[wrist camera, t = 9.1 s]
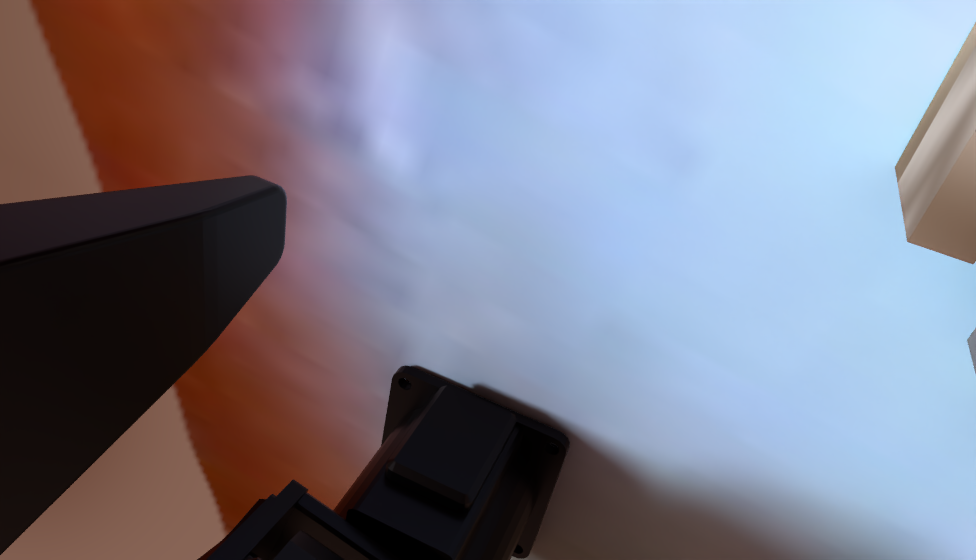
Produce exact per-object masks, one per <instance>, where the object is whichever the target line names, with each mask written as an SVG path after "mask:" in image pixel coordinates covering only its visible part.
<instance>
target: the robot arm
mask: <svg viewBox="0 0 976 560" xmlns="http://www.w3.org/2000/svg"><path fill="white" fill-rule="evenodd" d="M286 207H287V197H286V193H285V191H284V189H283V188H282V187H281V186H279V185H277V184H275V183H272V182H270V181H267V180H265V179H262V178H260V177H257V176H252V175H251V176H241V177H232V178H223V179H215V180H206V181H197V182H189V183H180V184H172V185H163V186H154V187H146V188H137V189H128V190H120V191H111V192H102V193H94V194H85V195H77V196H68V197H59V198H50V199H42V200H33V201H24V202H16V203H7V204H0V555H1V554H2V553H3V552H4V551H5V550H6V549H7V548H8V547H9V546H10V545H11V544H12V543H13V542H14V541H15V540H16V539H17V538H18V537H19V536H20V535H21V534H22V533H23V532H24V531H25V530H26V529H27V528H28V527H29V526H30V525H31V524H32V523H33V522H34V521H35V520H36V519H37V518H38V517H39V516H40V515H41V514H42V513H43V512H44V511H45V510H47V508H48V507H49V506H50V505H52V504H53V502H55V501H56V500H57V499H58V498H59V497H60V496H61V495H62V494H63V493H64V492H65V491H66V490H67V489H68V488H69V487H70V486H71V485H72V484H73V483H74V482H75V481H76V480H77V479H78V478H79V477H80V476H81V475H82V474H83V473H84V472H85V471H86V470H87V469H88V468H89V467H90V466H91V465H92V464H93V463H94V462H95V461H96V460H97V459H98V458H99V457H100V456H101V455H102V454H103V453H104V452H105V451H106V450H107V449H108V448H109V447H110V446H111V445H112V444H113V443H114V442H115V441H116V440H117V439H118V438H119V437H120V436H121V435H122V434H123V433H124V432H125V431H126V430H127V429H128V428H130V427H131V426H132V424H134V423H135V422H136V421H137V420H138V418H140V417H141V416H142V415H143V414H144V413H145V412H146V411H147V410H148V409H149V408H150V407H151V406H152V405H153V404H154V403H155V402H156V401H157V400H158V399H159V398H160V397H161V396H162V395H163V394H164V393H165V392H166V391H167V390H168V389H169V388H170V387H171V386H172V385H173V384H174V383H175V382H176V381H177V380H178V379H179V378H180V377H181V376H182V375H183V374H184V373H185V372H186V371H187V370H188V369H189V368H190V367H191V366H192V365H193V364H194V363H195V362H196V361H197V360H198V359H199V358H200V357H201V356H202V355H203V354H204V353H205V352H206V351H207V349H208V348H209V347H210V346H211V345H212V344H213V343H214V341H215V340H216V339H217V338H218V337H219V336H220V334H221V333H222V332H223V331H224V329H225V328H226V327H227V326H228V324H229V323H230V322H231V321H232V319H233V318H234V317H235V316H236V315H237V313H238V312H239V311H240V310H241V308H242V307H243V306H244V305H245V303H246V302H247V301H248V300H249V298H250V297H251V296H252V295H253V293H254V292H255V291H256V290H257V289H258V287H259V286H260V285H261V284H262V282H263V281H264V280H265V279H266V277H267V276H268V275H269V274H270V272H271V271H272V270H273V269H274V268H275V266H276V265H277V263H278V262H279V260H280V258H281V256H282V253H283V250H284V245H285V227H286ZM405 379H407V380H409V381H410V383H409V382H407V381H406V380H405ZM550 443H553V444H555V445H556V446H557V447H554V446H552V445H551V444H550ZM569 444H570V443H569V440H568V438H567V437H566V436H565V434H563V433H562V432H560V431H558V430H556V429H554V428H551V427H549V426H547V425H544V424H542V423H540V422H538V421H535V420H533V419H531V418H528V417H526V416H524V415H521V414H519V413H517V412H515V411H512V410H510V409H508V408H505V407H503V406H501V405H498V404H496V403H494V402H492V401H489V400H487V399H485V398H482V397H480V396H478V395H475V394H473V393H471V392H469V391H466V390H464V389H462V388H459V387H457V386H455V385H452V384H450V383H448V382H446V381H443V380H441V379H439V378H436V377H434V376H432V375H429V374H427V373H425V372H423V371H420V370H418V369H416V368H413V367H410V366H402V367H400V368H399V369H398V370H397V372H396V373H395V374H394V376H393V378H392V383H391V389H390V395H389V401H388V407H387V414H386V420H385V426H384V432H383V438H382V444H381V447H380V449H379V450H378V451H377V453H376V454H375V455H374V457H373V458H372V459H371V461H370V462H369V463H368V465H367V466H366V467H365V469H364V470H363V471H362V473H361V474H360V475H359V477H358V478H357V479H356V481H355V482H354V483H353V485H352V486H351V487H350V489H349V490H348V491H347V493H346V494H345V495H344V497H343V498H342V499H341V501H340V502H339V503H338V505H337V506H336V507H335V509H334V510H332V509H330V508H329V507H327V506H326V505H324V504H323V503H321V502H320V501H319V500H317V499H316V498H314V497H313V496H311V495H310V494H308V493H307V491H308V489H307V488H305V487H304V486H302V485H301V484H299V483H298V482H297V481H295V480H294V479H293V480H292V481H291V482H290V483H289V484H288V485H287V486H286V487H285V488H284V489H283V490H282V491H281V492H280V493H279V494H278V495H277V496H275V495H274V494H272V495H270V496H269V497H268V498H267V499H259V500H258V501H257V502H256V504H255V505H254V506H253V507H252V508H251V509H250V510H249V512H248V513H247V514H246V515H245V516H244V517H243V518H242V520H241V521H240V522H239V523H238V524H237V525H236V526H235V527H234V529H233V530H232V531H231V532H230V533H229V534H228V535H227V536H226V537H225V538H224V539H223V540H222V541H220V543H218V544H217V545H216V546H214V547H213V548H212V549H210V550H209V551H208V552H206V553H205V554H204V555H203V556H201V557H200V558H199V559H197V560H510V559H511V556H514V557H516V558H526V557H527V556H528V555H529V553H530V551H531V549H532V546H533V544H534V541H535V538H536V536H537V533H538V530H539V528H540V525H541V522H542V519H543V517H544V514H545V511H546V509H547V506H548V503H549V500H550V498H551V495H552V492H553V490H554V487H555V484H556V482H557V479H558V476H559V473H560V471H561V468H562V465H563V463H564V460H565V457H566V455H567V452H568V449H569Z"/></svg>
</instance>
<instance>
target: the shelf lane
mask: <svg viewBox="0 0 976 560" xmlns="http://www.w3.org/2000/svg"><path fill="white" fill-rule="evenodd" d="M895 170H896V176H897V182H898V188H899V194H900V200H901V206H902V212H903V218H904V224H905V230H906V237H907V242H910V243H912V244H915V245H918V246H921V247H924V248H927V249H930V250H933V251H936V252H939V253H942V254H945V255H947V256H950V257H953V258H956V259H959V260H962V261H965V262H968V263H971V264H974V263H975V261H976V23H975V24H974V26H973V28H972V30H971V32H970V33H969V35H968V37H967V39H966V41H965V42H964V44H963V46H962V48H961V50H960V51H959V53H958V55H957V57H956V59H955V60H954V62H953V64H952V66H951V68H950V69H949V71H948V73H947V75H946V76H945V78H944V80H943V82H942V84H941V85H940V87H939V89H938V91H937V93H936V94H935V96H934V98H933V100H932V102H931V103H930V105H929V107H928V109H927V111H926V112H925V114H924V116H923V118H922V120H921V121H920V123H919V125H918V127H917V129H916V130H915V132H914V134H913V136H912V137H911V139H910V141H909V143H908V145H907V146H906V148H905V150H904V152H903V154H902V155H901V157H900V159H899V161H898V163H897V164H896V166H895Z"/></svg>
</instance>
